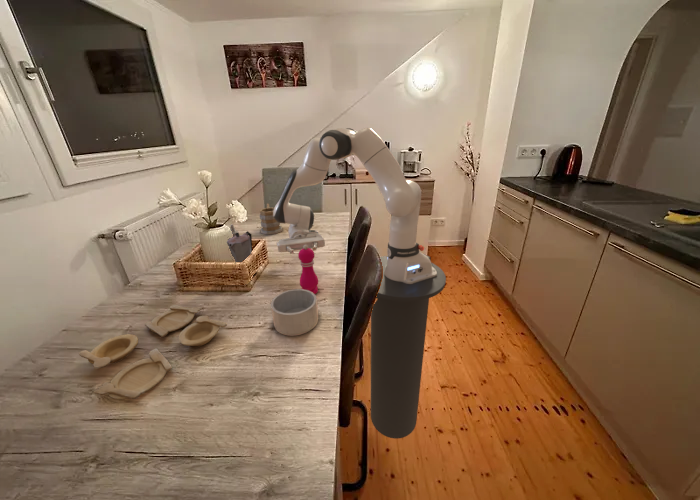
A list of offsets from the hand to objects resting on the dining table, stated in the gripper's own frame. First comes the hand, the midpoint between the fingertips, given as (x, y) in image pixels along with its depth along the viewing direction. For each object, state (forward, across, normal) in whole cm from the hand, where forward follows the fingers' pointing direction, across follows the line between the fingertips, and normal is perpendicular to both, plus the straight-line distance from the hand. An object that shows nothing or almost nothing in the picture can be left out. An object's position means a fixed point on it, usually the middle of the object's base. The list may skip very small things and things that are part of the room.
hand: (303, 250), depth 116 cm
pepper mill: (+12, 0, +13) cm, 17 cm away
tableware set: (+29, -48, +13) cm, 57 cm away
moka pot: (-12, -25, +13) cm, 31 cm away
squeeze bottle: (-30, -30, +13) cm, 45 cm away
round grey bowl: (+29, -7, +13) cm, 32 cm away
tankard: (-71, -13, +13) cm, 74 cm away
